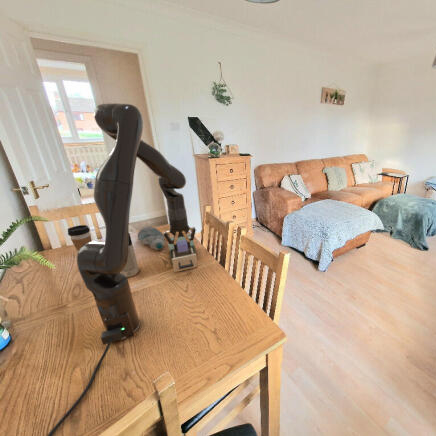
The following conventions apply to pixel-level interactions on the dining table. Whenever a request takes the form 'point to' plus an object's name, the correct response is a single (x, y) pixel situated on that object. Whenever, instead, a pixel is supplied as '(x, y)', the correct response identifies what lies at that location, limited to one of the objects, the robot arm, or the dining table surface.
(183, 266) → the drawer
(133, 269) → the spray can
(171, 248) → the cabinet
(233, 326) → the dining table surface
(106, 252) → the robot arm
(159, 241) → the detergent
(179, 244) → the purple cube
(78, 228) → the coffee cup
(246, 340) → the dining table surface
